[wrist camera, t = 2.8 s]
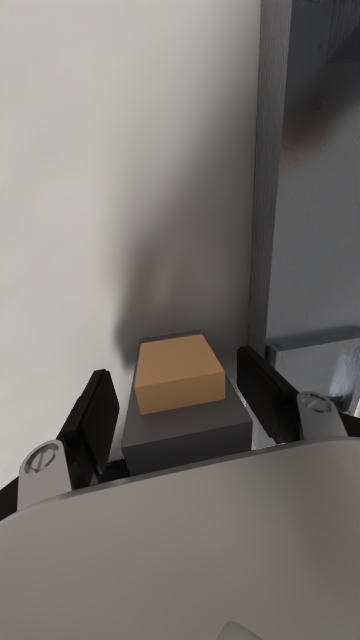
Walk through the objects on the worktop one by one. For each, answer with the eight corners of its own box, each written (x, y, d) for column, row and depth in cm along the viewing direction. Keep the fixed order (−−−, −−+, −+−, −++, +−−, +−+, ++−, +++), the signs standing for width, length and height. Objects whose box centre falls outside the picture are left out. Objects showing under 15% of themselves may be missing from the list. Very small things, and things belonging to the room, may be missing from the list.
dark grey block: (136, 322, 11) (111, 417, 5) (198, 313, 11) (254, 390, 5) (150, 387, 13) (145, 520, 6) (202, 378, 13) (248, 495, 7)
